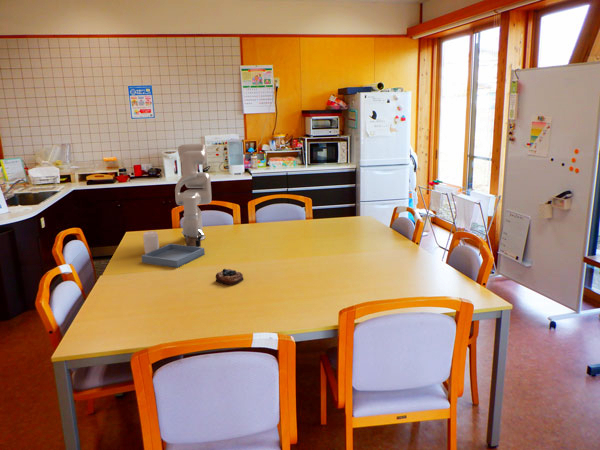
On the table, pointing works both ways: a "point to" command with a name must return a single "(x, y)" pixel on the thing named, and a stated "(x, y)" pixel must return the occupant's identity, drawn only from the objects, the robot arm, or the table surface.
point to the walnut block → (191, 241)
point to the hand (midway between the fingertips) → (193, 245)
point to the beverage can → (150, 241)
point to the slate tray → (173, 255)
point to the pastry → (229, 277)
